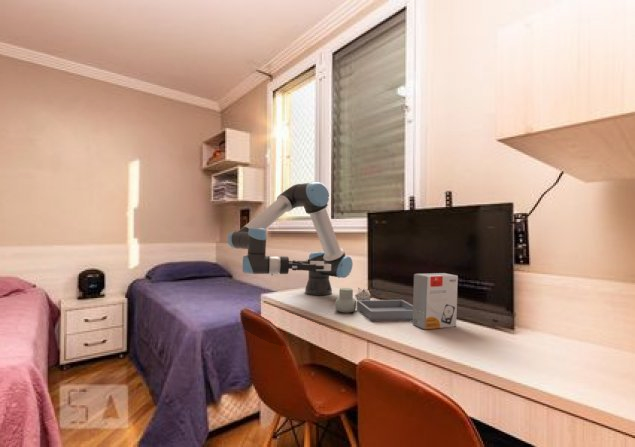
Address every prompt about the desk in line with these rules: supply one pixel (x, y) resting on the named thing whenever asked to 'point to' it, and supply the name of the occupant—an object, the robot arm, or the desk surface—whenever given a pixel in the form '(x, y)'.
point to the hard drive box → (435, 300)
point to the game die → (363, 294)
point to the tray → (385, 310)
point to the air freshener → (345, 301)
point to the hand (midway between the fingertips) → (327, 265)
